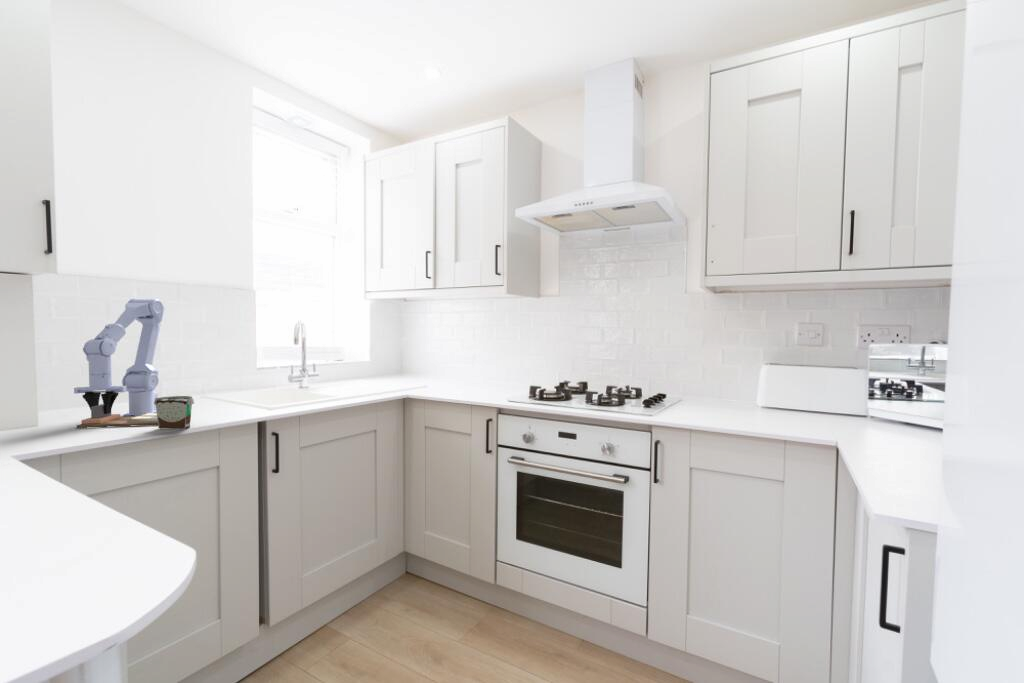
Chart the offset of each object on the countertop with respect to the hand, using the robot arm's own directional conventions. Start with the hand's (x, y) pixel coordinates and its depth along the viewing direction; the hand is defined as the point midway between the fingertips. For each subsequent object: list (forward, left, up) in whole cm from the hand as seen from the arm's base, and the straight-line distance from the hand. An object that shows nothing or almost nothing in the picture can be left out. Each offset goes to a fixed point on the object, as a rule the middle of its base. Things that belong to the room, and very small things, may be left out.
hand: (101, 413), depth 157 cm
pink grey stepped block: (0, 0, -2) cm, 2 cm away
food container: (+11, +29, -4) cm, 31 cm away
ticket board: (0, +9, -3) cm, 10 cm away
